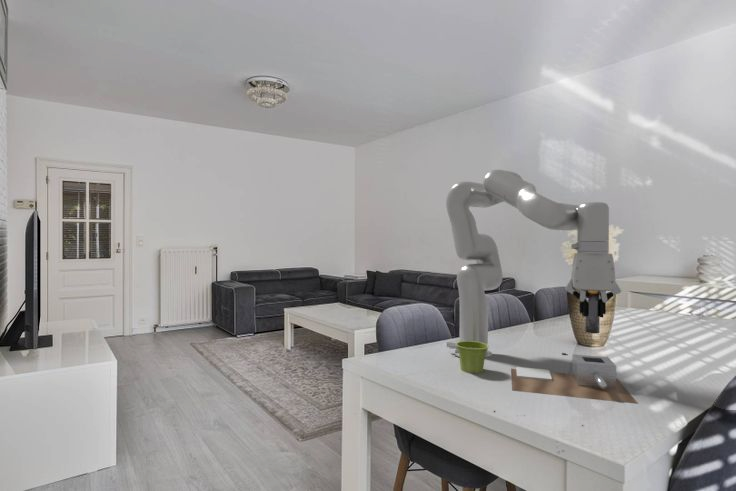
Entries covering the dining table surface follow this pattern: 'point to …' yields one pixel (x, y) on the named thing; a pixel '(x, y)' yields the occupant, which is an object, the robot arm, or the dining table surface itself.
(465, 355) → the plant pot
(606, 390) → the walnut board
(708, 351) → the dining table surface
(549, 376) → the mat
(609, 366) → the block
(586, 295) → the key peg
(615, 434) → the dining table surface
